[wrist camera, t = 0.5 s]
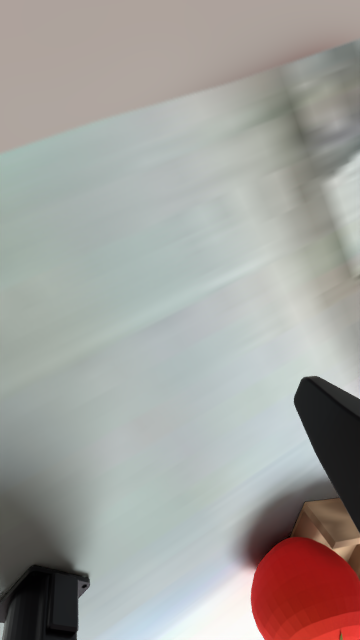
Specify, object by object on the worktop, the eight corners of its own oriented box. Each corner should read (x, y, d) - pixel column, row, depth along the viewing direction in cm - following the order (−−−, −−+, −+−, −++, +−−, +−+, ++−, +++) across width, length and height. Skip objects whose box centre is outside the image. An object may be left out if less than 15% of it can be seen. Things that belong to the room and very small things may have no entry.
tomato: (302, 581, 43) (361, 690, 33) (224, 586, 39) (265, 711, 29) (337, 519, 40) (413, 618, 30) (257, 518, 36) (314, 631, 27)
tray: (265, 593, 42) (287, 640, 38) (304, 501, 38) (335, 542, 33) (343, 575, 47) (371, 614, 43) (386, 492, 43) (422, 526, 38)
